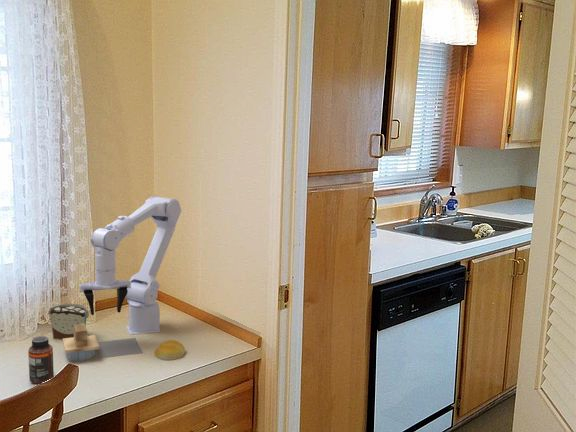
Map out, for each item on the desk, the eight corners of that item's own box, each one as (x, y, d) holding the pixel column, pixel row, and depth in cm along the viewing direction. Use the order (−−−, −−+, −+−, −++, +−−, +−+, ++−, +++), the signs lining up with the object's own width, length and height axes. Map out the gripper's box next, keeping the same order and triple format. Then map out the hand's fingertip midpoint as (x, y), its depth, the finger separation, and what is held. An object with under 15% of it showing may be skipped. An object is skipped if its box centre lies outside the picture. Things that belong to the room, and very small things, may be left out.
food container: (95, 335, 190) (95, 305, 188) (87, 343, 184) (87, 311, 182) (57, 332, 191) (57, 301, 189) (48, 339, 185) (47, 308, 183)
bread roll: (150, 360, 175) (151, 347, 174) (162, 348, 183) (162, 336, 183) (178, 363, 173) (178, 350, 173) (188, 351, 182) (188, 339, 181)
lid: (94, 337, 180) (94, 320, 179) (99, 349, 172) (99, 331, 171) (62, 341, 176) (62, 323, 175) (65, 353, 168) (65, 334, 167)
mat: (135, 339, 189) (135, 337, 189) (143, 354, 178) (143, 352, 178) (95, 343, 184) (95, 342, 184) (100, 359, 173) (100, 358, 173)
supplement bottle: (48, 372, 164) (48, 332, 161) (57, 380, 159) (56, 339, 157) (25, 378, 160) (24, 337, 158) (33, 386, 155) (32, 345, 153)
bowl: (92, 349, 180) (92, 338, 179) (96, 359, 173) (96, 348, 172) (65, 352, 176) (65, 341, 176) (67, 363, 170) (67, 351, 169)
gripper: (81, 274, 173) (81, 319, 176) (132, 270, 179) (132, 314, 182) (78, 267, 180) (79, 311, 182) (128, 264, 186) (128, 307, 188)
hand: (105, 312), depth 182 cm, fingers open, 7 cm apart
